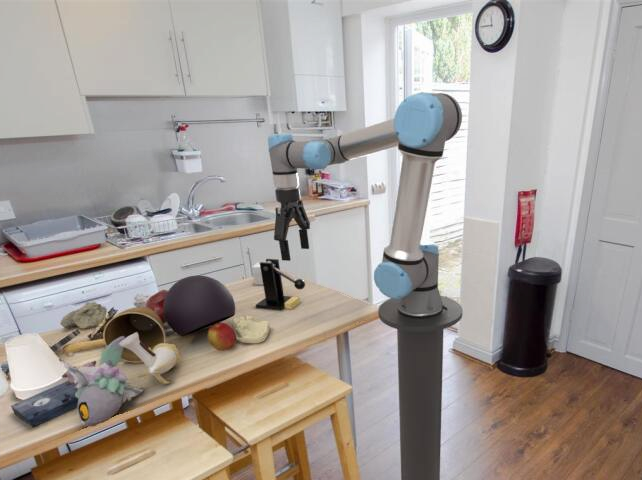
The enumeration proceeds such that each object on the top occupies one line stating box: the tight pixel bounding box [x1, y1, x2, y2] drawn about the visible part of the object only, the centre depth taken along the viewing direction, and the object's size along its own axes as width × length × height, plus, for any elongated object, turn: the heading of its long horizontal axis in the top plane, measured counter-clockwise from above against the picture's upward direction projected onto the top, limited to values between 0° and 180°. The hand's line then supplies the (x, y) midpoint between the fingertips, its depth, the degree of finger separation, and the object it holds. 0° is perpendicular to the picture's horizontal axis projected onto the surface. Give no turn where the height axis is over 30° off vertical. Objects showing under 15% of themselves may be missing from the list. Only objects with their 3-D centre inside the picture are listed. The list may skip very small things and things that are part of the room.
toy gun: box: [119, 332, 181, 385], centre depth 119 cm, size 10×21×15 cm, turn 13°
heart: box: [145, 289, 169, 324], centre depth 150 cm, size 12×8×10 cm
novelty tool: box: [62, 322, 176, 358], centre depth 138 cm, size 8×3×30 cm
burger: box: [86, 306, 119, 341], centre depth 141 cm, size 12×12×8 cm
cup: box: [4, 332, 68, 401], centre depth 113 cm, size 12×12×14 cm
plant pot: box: [102, 306, 167, 364], centre depth 131 cm, size 15×15×16 cm
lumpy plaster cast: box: [233, 315, 271, 344], centre depth 139 cm, size 11×11×6 cm
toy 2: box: [59, 336, 145, 428], centre depth 105 cm, size 14×16×15 cm
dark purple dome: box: [163, 275, 236, 337], centre depth 137 cm, size 20×20×16 cm
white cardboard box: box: [251, 262, 263, 286], centre depth 181 cm, size 6×6×7 cm
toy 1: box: [48, 328, 82, 353], centre depth 130 cm, size 14×2×10 cm
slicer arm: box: [265, 261, 306, 290], centre depth 156 cm, size 15×4×4 cm, turn 76°
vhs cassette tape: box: [10, 382, 78, 428], centre depth 110 cm, size 18×3×10 cm
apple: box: [207, 322, 237, 351], centre depth 133 cm, size 8×8×8 cm
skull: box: [132, 293, 152, 307], centre depth 158 cm, size 7×15×6 cm, turn 85°
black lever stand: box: [255, 258, 293, 311], centre depth 159 cm, size 10×10×16 cm
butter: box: [284, 296, 301, 310], centre depth 161 cm, size 3×6×2 cm, turn 164°
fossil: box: [59, 301, 108, 330], centre depth 152 cm, size 14×10×10 cm
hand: (296, 254), depth 152 cm, fingers open, 13 cm apart
